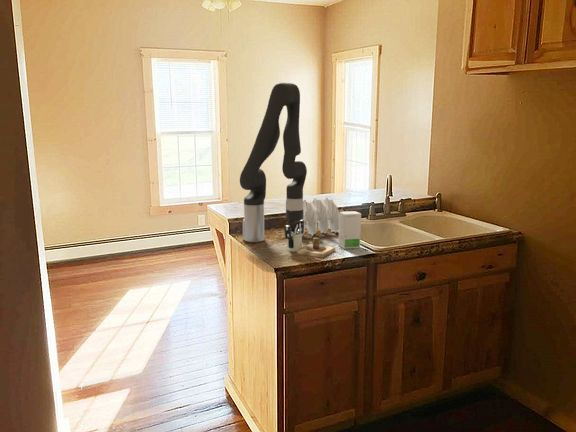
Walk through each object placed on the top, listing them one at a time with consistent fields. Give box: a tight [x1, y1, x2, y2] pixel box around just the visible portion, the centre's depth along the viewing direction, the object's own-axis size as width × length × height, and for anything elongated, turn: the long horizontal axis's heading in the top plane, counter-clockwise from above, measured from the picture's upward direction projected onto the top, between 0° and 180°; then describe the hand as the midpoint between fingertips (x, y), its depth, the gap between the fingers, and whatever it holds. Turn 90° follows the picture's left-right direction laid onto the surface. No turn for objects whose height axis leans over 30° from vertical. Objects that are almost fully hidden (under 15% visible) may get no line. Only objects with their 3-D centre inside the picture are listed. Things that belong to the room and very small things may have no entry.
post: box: [296, 237, 336, 259], centre depth 216 cm, size 12×12×6 cm
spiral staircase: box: [301, 197, 340, 237], centre depth 245 cm, size 18×18×25 cm
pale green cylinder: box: [286, 232, 303, 253], centre depth 219 cm, size 6×6×8 cm
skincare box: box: [337, 210, 362, 250], centre depth 223 cm, size 8×7×16 cm
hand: (294, 245), depth 220 cm, fingers closed on pale green cylinder, 6 cm apart
